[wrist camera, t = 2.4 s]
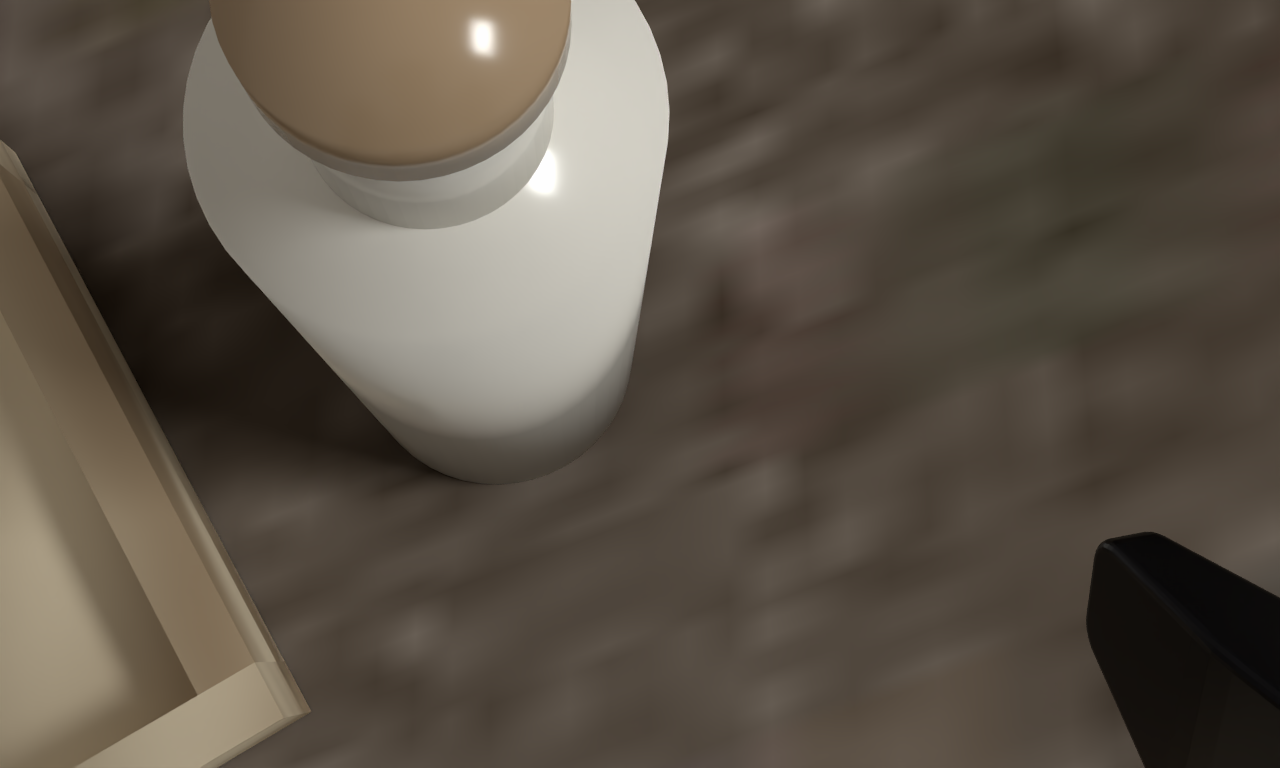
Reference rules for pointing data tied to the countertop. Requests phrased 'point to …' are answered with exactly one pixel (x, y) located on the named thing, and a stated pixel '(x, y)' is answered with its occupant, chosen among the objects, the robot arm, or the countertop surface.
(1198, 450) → the countertop surface
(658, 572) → the countertop surface
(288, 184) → the bottle
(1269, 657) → the robot arm
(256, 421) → the countertop surface
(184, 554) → the tray
